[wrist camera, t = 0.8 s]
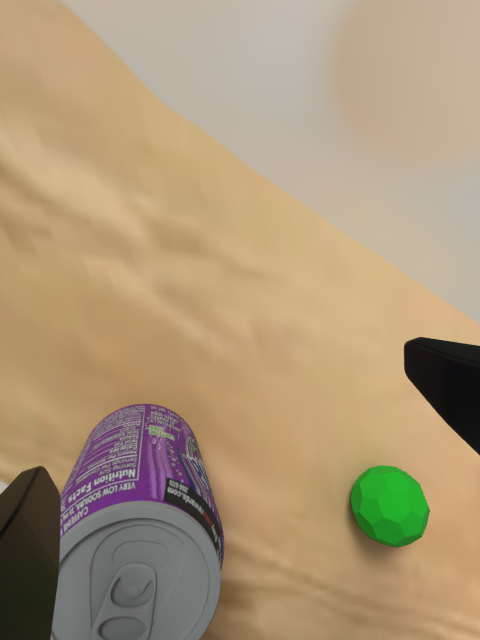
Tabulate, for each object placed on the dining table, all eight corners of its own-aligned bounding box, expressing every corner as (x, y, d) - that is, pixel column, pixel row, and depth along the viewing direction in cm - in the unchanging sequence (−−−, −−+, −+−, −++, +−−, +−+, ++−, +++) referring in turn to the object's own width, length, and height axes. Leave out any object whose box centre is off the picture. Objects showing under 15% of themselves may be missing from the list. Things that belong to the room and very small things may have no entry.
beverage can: (180, 515, 25) (203, 702, 13) (70, 499, 23) (-13, 695, 12) (209, 413, 25) (256, 509, 14) (101, 389, 24) (50, 475, 12)
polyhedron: (327, 504, 28) (363, 545, 23) (359, 444, 28) (400, 473, 23) (379, 530, 29) (423, 574, 24) (409, 472, 29) (458, 504, 24)
